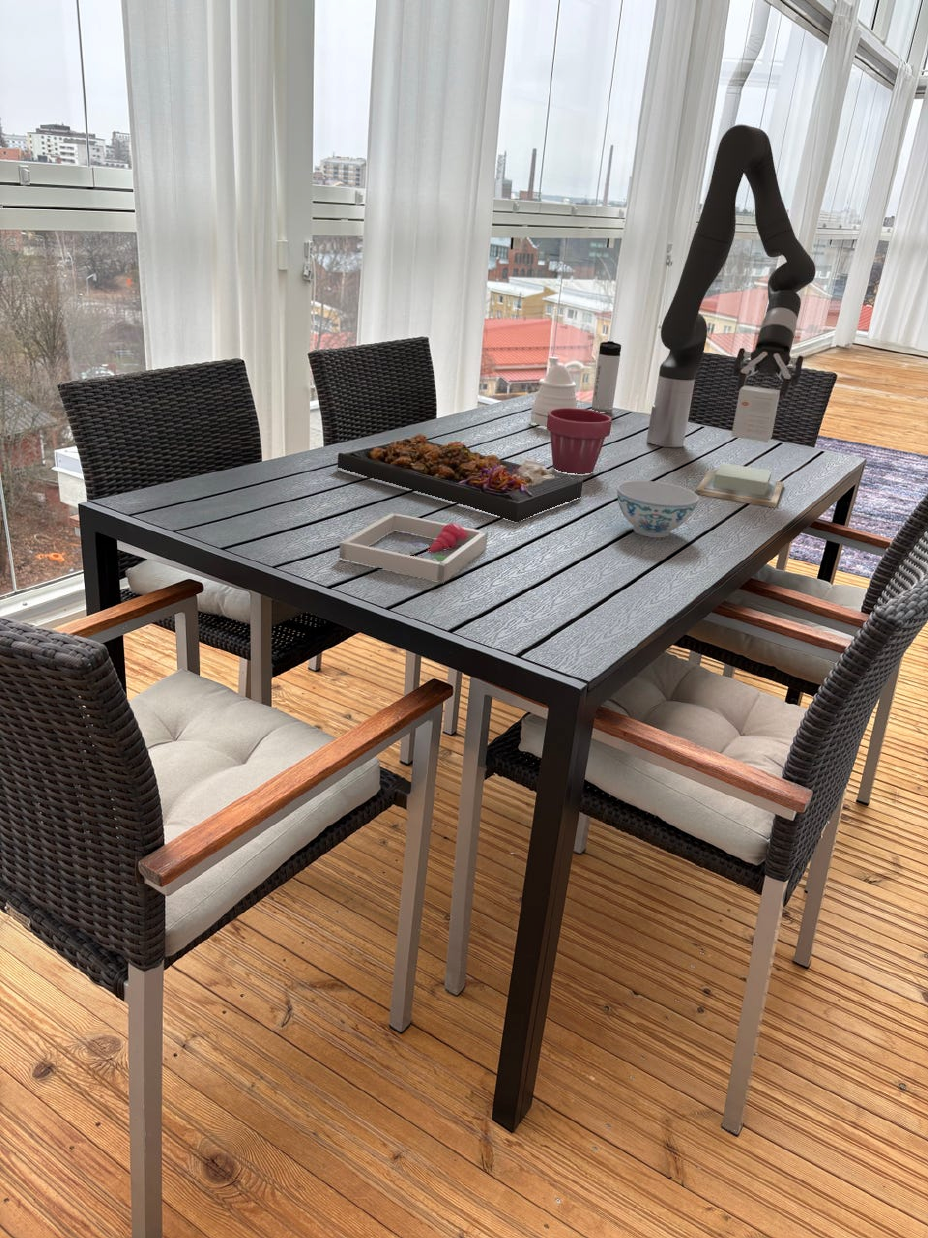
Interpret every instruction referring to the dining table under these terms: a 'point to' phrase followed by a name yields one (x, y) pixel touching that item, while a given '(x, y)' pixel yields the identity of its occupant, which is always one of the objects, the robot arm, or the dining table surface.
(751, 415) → the small box
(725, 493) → the board
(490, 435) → the dining table surface
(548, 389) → the honey pot
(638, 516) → the chinaware
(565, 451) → the plant pot
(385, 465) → the food platter
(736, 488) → the plinth
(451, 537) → the toy pieces
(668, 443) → the robot arm
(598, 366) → the travel mug
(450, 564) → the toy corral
